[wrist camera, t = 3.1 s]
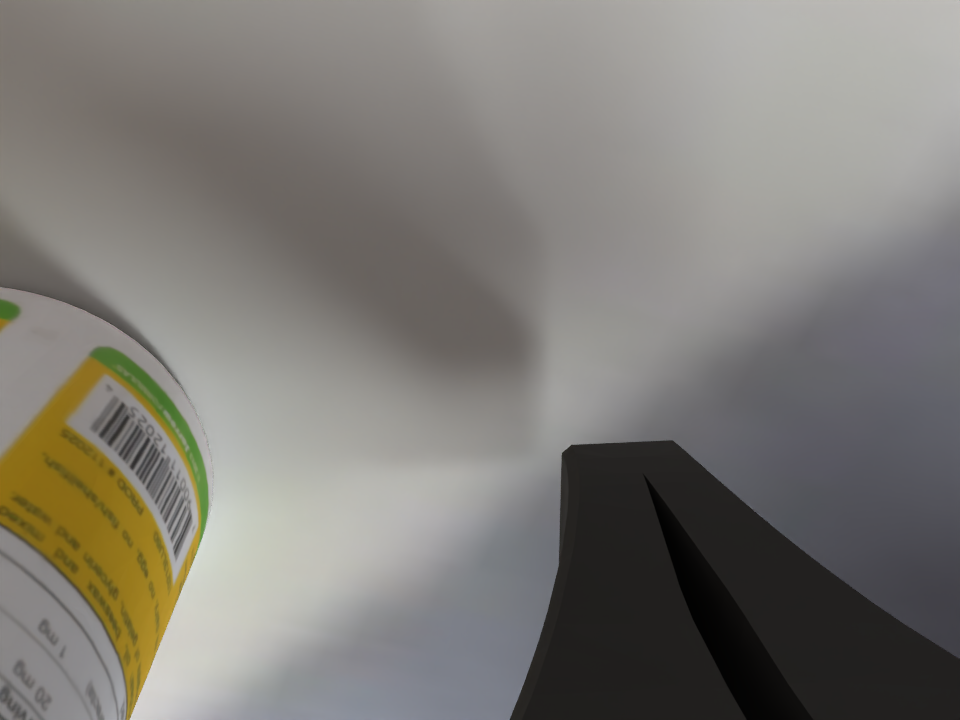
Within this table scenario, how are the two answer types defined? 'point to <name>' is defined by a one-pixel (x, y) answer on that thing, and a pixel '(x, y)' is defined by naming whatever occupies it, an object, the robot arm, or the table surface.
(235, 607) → the table surface
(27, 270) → the table surface
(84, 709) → the supplement bottle
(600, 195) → the table surface
